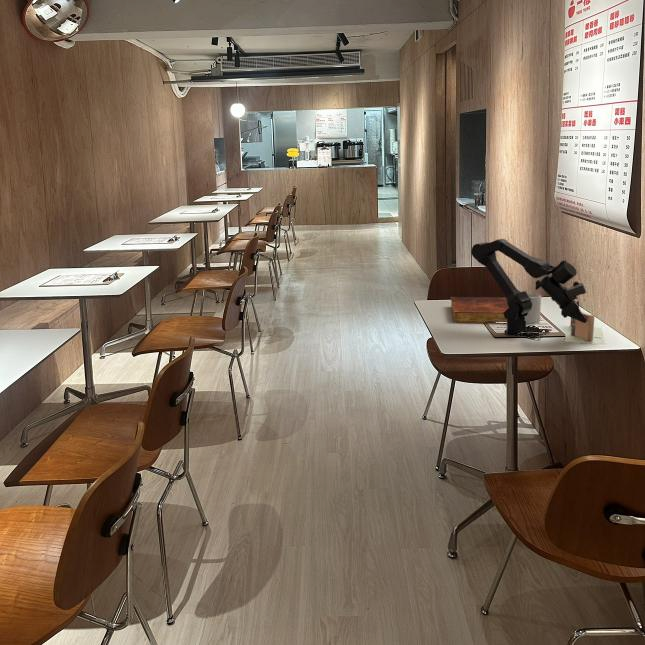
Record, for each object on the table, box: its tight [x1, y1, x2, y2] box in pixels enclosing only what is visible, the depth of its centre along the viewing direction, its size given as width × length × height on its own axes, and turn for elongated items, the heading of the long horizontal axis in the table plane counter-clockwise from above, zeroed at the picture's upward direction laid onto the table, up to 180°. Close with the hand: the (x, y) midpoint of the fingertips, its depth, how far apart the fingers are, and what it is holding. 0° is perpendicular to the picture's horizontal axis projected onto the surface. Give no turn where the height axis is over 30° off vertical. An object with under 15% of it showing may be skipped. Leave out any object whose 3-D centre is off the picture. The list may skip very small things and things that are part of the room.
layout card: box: [564, 325, 606, 345], centre depth 300 cm, size 14×25×1 cm, turn 164°
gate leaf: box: [575, 311, 595, 341], centre depth 293 cm, size 2×9×9 cm, turn 17°
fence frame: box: [569, 317, 576, 336], centre depth 305 cm, size 2×16×10 cm, turn 164°
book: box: [450, 296, 509, 324], centre depth 334 cm, size 30×24×5 cm
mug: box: [525, 292, 542, 325], centre depth 322 cm, size 12×8×11 cm
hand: (585, 322), depth 290 cm, fingers closed
